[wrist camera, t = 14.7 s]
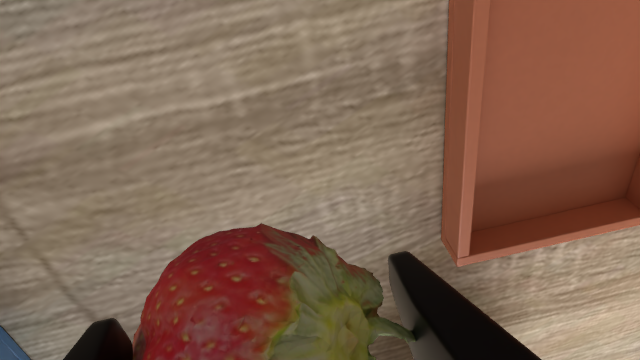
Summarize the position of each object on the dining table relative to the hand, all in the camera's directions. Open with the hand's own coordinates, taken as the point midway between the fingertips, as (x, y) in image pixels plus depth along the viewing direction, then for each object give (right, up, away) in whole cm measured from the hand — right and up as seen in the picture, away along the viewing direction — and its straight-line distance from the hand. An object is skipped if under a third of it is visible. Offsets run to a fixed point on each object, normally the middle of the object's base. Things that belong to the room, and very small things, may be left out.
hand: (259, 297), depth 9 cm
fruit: (-1, +1, +1) cm, 1 cm away
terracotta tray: (+11, +6, +10) cm, 16 cm away
